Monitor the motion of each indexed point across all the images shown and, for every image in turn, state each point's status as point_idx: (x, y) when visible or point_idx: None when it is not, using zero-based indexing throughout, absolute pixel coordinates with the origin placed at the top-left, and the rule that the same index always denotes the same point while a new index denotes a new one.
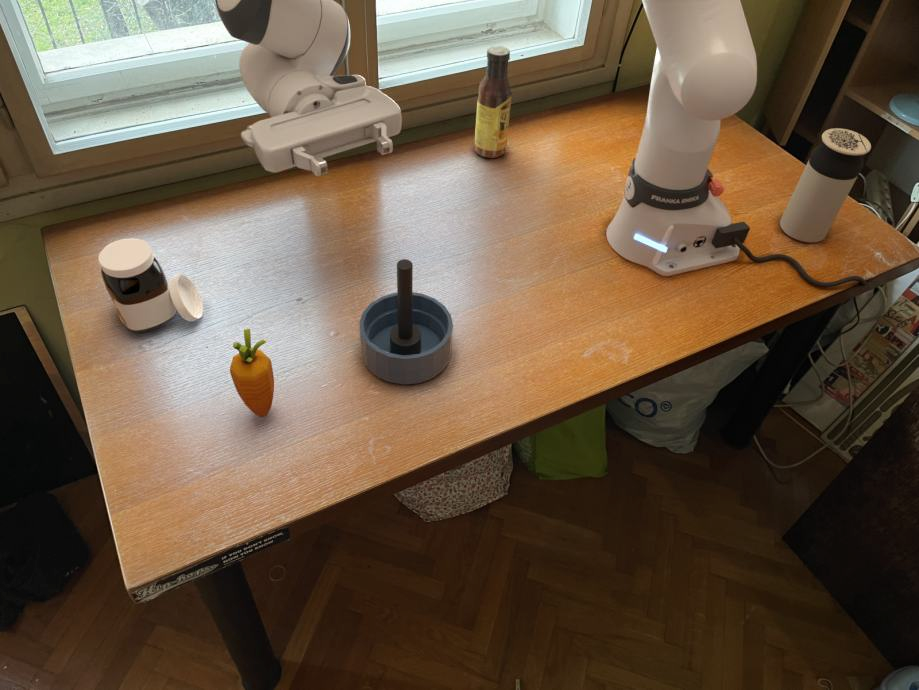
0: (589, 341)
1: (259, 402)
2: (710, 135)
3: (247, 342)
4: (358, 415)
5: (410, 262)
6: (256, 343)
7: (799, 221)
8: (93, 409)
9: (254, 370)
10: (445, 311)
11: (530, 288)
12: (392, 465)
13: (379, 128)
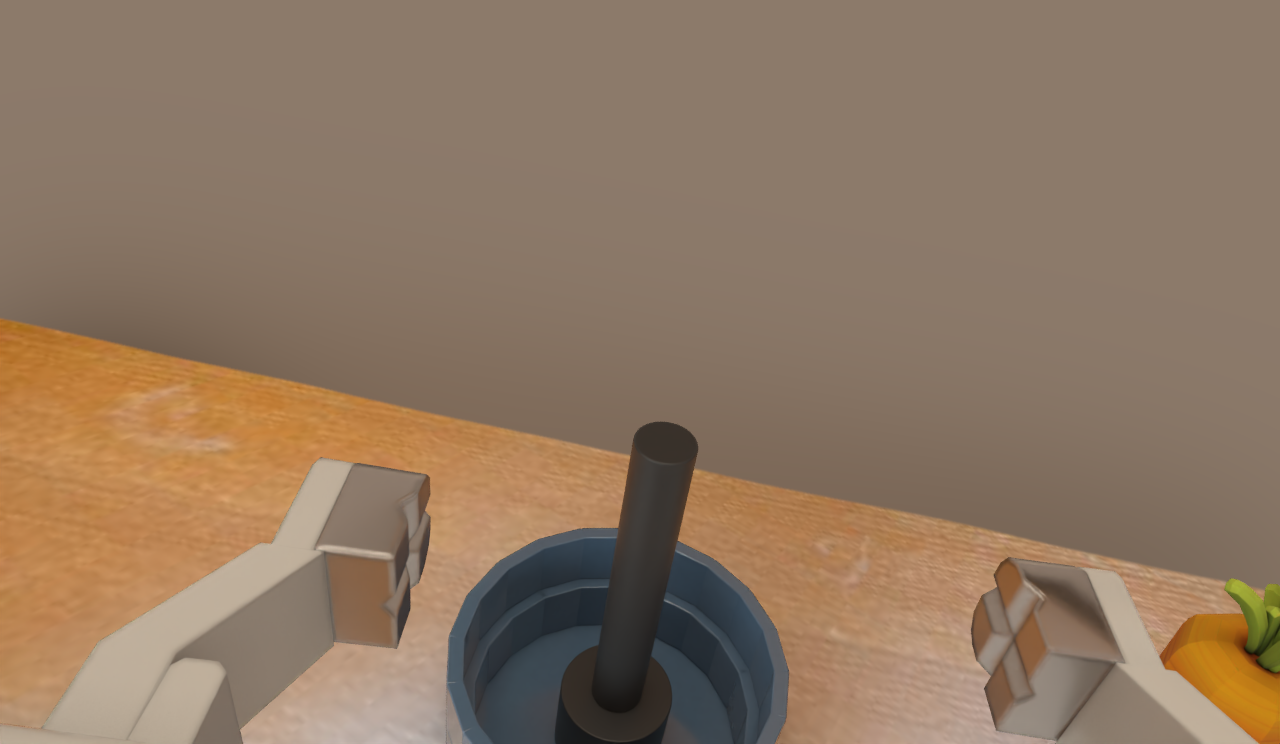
0: (163, 460)
1: None
2: None
3: None
4: (851, 652)
5: (640, 436)
6: (1262, 601)
7: None
8: None
9: (1240, 615)
10: (469, 613)
11: (5, 695)
12: (833, 513)
13: (201, 662)
